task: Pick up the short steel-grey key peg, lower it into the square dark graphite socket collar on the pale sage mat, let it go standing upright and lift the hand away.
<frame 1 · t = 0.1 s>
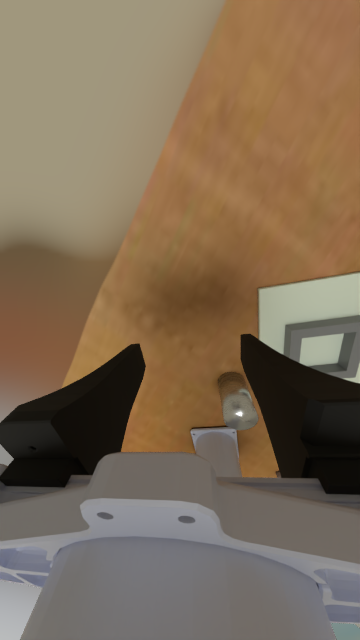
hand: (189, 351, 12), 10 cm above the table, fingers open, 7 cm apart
key peg: (231, 382, 26), on the table
socket: (314, 345, 22), on the table
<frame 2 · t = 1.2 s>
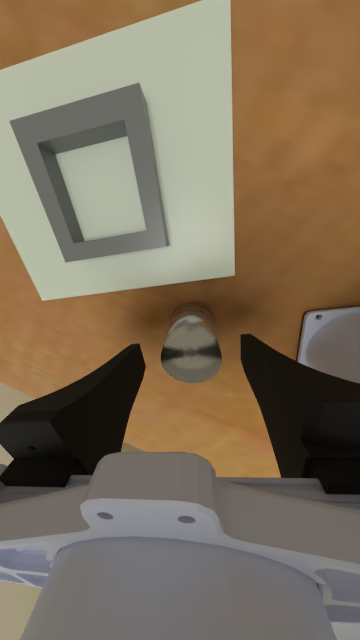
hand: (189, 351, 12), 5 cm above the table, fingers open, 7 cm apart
key peg: (192, 321, 17), on the table
socket: (109, 196, 13), on the table
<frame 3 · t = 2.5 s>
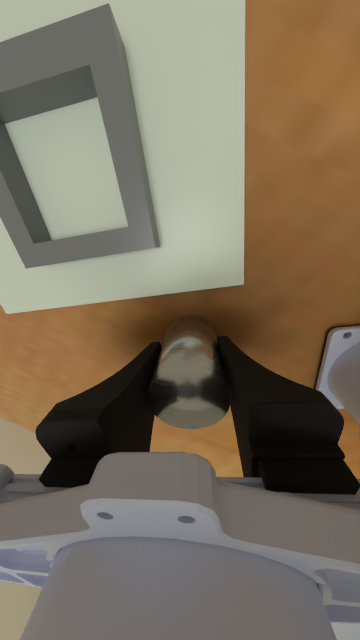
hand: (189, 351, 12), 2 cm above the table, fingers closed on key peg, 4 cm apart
key peg: (190, 338, 14), on the table, touching gripper
socket: (81, 183, 10), on the table
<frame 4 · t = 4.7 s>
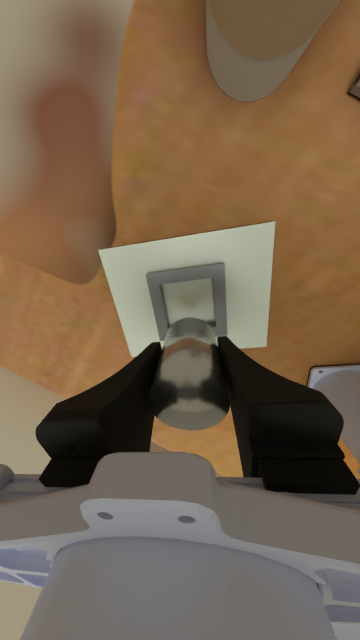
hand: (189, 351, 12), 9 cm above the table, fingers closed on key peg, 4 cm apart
coffee cup: (255, 36, 12), on the table
key peg: (190, 339, 14), point 8 cm above the table, touching gripper
socket: (189, 301, 21), on the table
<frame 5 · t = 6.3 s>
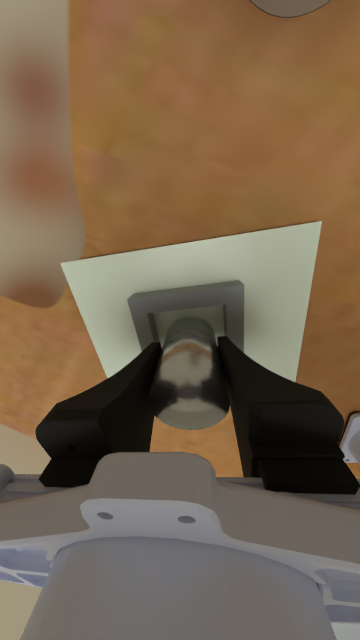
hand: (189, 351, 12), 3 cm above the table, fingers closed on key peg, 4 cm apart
key peg: (190, 339, 14), point 1 cm above the table, touching gripper
socket: (190, 330, 15), on the table
when the fingers open (3 cm above the table, at t = 7.1 s): key peg stays where it is, resting on socket.
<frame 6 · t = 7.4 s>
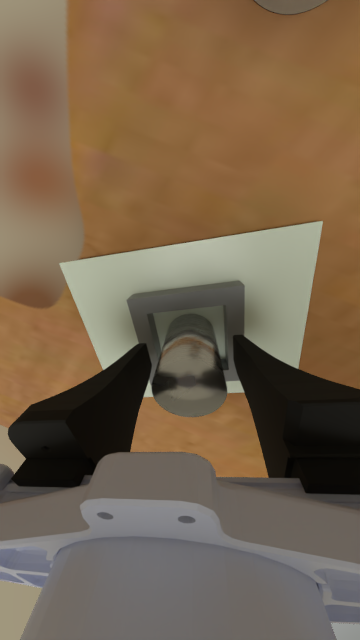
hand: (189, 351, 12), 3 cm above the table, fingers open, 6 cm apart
key peg: (190, 335, 15), point 1 cm above the table, touching socket
socket: (190, 331, 15), on the table
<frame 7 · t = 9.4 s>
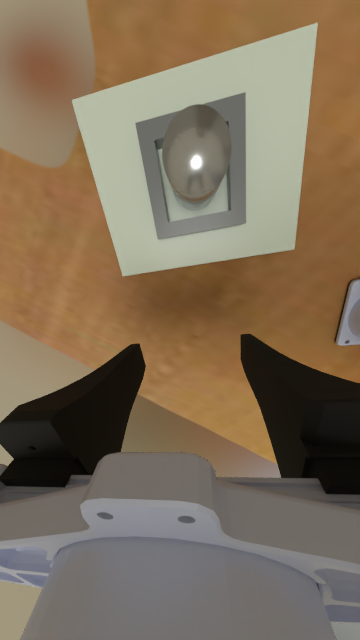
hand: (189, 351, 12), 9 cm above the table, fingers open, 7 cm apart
key peg: (195, 184, 15), point 1 cm above the table, touching socket
socket: (194, 184, 16), on the table
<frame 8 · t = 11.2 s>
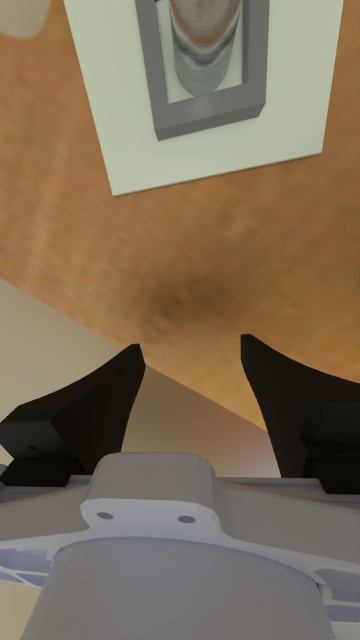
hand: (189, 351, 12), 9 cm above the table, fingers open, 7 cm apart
key peg: (202, 55, 12), point 1 cm above the table, touching socket
socket: (201, 60, 13), on the table
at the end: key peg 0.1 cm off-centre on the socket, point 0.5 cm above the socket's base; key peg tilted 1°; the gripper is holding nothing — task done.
